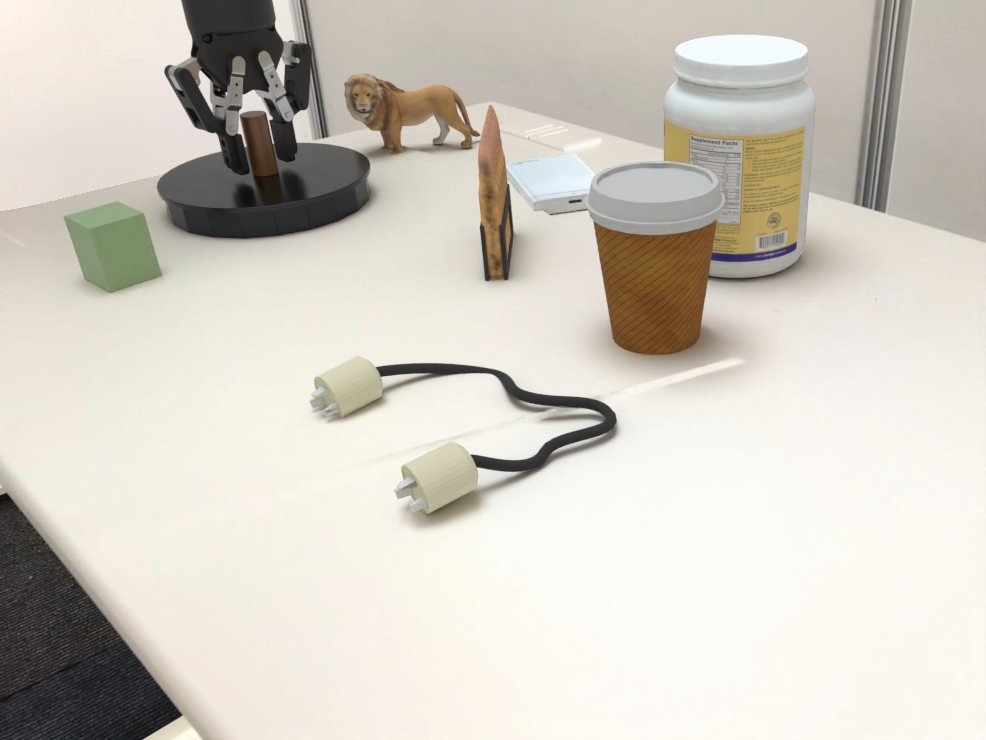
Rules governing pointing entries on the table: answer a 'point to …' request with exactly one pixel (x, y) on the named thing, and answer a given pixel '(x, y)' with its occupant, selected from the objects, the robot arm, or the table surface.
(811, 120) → the supplement tub
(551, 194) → the hard drive
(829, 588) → the table surface
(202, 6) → the robot arm
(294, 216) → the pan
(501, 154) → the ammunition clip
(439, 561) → the table surface
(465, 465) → the cable
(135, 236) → the block
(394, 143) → the lion figurine
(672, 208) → the disposable coffee cup
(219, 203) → the lid
